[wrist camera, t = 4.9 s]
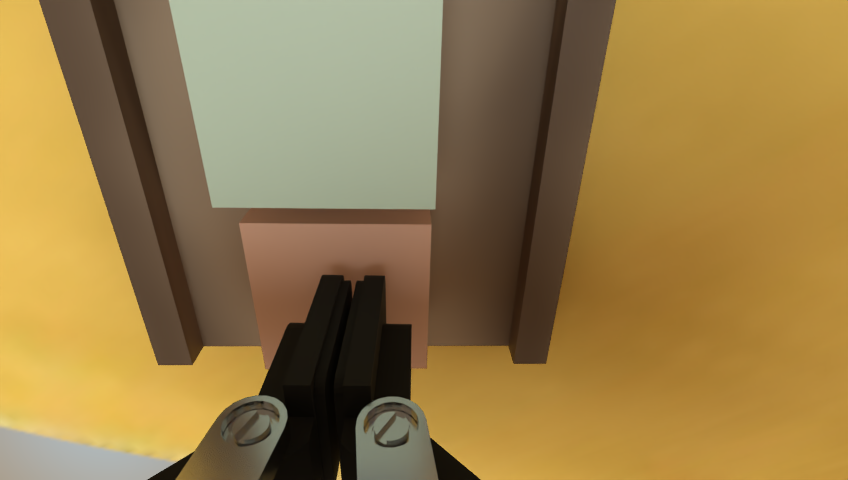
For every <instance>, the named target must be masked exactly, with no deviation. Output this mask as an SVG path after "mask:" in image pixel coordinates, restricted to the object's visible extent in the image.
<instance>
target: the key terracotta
mask: <svg viewBox="0 0 848 480" xmlns="http://www.w3.org/2000/svg"><path fill="white" fill-rule="evenodd" d="M431 225H432V224H431V215H430V209H324V208H250V210H249V211H248V212H247V213H246V215H245V216H244V217H243V219H242V220H241V221H240V222H239V227H240V232H241V237H242V243H243V248H244V254H245V259H246V265H247V270H248V276H249V281H250V286H251V292H252V297H253V303H254V308H255V314H256V319H257V325H258V330H259V335H260V341H261V346H262V352H263V357H264V363H265V368H266V369H269V368H270V366H271V364H272V361H273V359H274V356H275V354H276V351H277V349H278V347H279V344H280V342H281V339H282V337H283V334H284V332H285V330H286V327H287V325H288V324H289V323H305V321H306V318H307V315H308V312H309V310H310V307H311V304H312V301H313V298H314V296H315V293H316V290H317V287H318V285H319V282H320V279H321V276H322V275H343V276H344V280H351V283H352V298H353V294H354V290H355V285H356V281H364V276H365V275H379V276H385V281H386V324H412V340H411V368H427V345H428V315H429V285H430V255H431Z"/></svg>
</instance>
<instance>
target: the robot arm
mask: <svg viewBox="0 0 848 480" xmlns="http://www.w3.org/2000/svg"><path fill="white" fill-rule="evenodd" d="M411 340H412V324H386V281H385V276H379V275H365V276H364V281H356V285H355V290H354V294H353V298H352V283H351V280H344V276H343V275H322V276H321V279H320V282H319V285H318V287H317V290H316V293H315V296H314V298H313V301H312V304H311V307H310V310H309V312H308V315H307V318H306V321H305V323H289V324H288V325H287V327H286V330H285V332H284V334H283V337H282V339H281V342H280V344H279V347H278V349H277V351H276V354H275V356H274V359H273V361H272V364H271V366H270V368H269V371H268V373H267V376H266V378H265V381H264V383H263V385H262V388H261V390H260V393H259V395H258V396H252V397H247V398H244V399H242V400H239V401H237V402H235V403H233V404H232V405H230V406H229V407H228V408H226V409H225V410H224V411H223V412H222V413H221V414H220V415H219V417H218V418H217V419H216V421H215V422H214V423H213V425H212V426H211V428H210V429H209V431H208V432H207V434H206V435H205V437H204V438H203V440H202V441H201V443H200V444H199V446H198V447H197V449H196V450H195V451H194V452H193V453H191V454H189V455H188V456H186V457H184V458H183V459H181V460H179V461H178V462H176V463H174V464H173V465H171V466H170V467H168V468H166V469H164V470H163V471H161V472H159V473H158V474H156V475H154V476H153V477H151V478H150V479H148V480H336V478H337V473H338V467H339V462H340V466H341V477H342V480H480V479H479V478H478V477H477V476H476V475H474V474H473V473H472V472H471V471H470V470H468V469H467V468H466V467H465V466H464V465H462V464H461V463H460V462H459V461H458V460H456V459H455V458H454V457H453V456H452V455H450V454H449V453H448V452H447V451H446V450H444V449H443V448H442V447H441V446H440V445H438V444H437V443H436V442H435V441H434V440H432V439H431V438H430V435H429V430H428V426H427V421H426V418H425V415H424V413H423V411H422V410H421V409H420V407H419V406H418V405H417V404H415V403H414V402H412V401H410V396H411Z"/></svg>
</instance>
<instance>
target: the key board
mask: <svg viewBox="0 0 848 480" xmlns="http://www.w3.org/2000/svg"><path fill="white" fill-rule="evenodd" d="M39 2H40V5H41V8H42V11H43V14H44V17H45V20H46V23H47V26H48V29H49V33H50V36H51V39H52V42H53V45H54V48H55V51H56V54H57V57H58V60H59V63H60V66H61V69H62V72H63V75H64V78H65V81H66V85H67V88H68V91H69V94H70V97H71V100H72V103H73V106H74V109H75V112H76V115H77V118H78V121H79V124H80V127H81V130H82V133H83V137H84V140H85V143H86V146H87V149H88V152H89V155H90V158H91V161H92V164H93V167H94V170H95V173H96V176H97V179H98V182H99V185H100V189H101V192H102V195H103V198H104V201H105V204H106V207H107V210H108V213H109V216H110V219H111V222H112V225H113V228H114V231H115V234H116V237H117V241H118V244H119V247H120V250H121V253H122V256H123V259H124V262H125V265H126V268H127V271H128V274H129V277H130V280H131V283H132V286H133V289H134V293H135V296H136V299H137V302H138V305H139V308H140V311H141V314H142V317H143V320H144V323H145V326H146V329H147V332H148V335H149V338H150V341H151V345H152V348H153V351H154V354H155V357H156V360H157V363H158V365H193V363H194V361H195V360H196V358H197V356H198V355H199V353H200V351H201V350H202V348H203V346H261V341H260V335H259V330H258V325H257V319H256V314H255V308H254V303H253V297H252V292H251V286H250V281H249V276H248V270H247V265H246V259H245V254H244V248H243V243H242V237H241V232H240V227H239V222H240V221H241V220H242V219H243V217H244V216H245V215H246V213H247V212H248V211H249V210H250V208H212V204H211V199H210V194H209V190H208V185H207V180H206V175H205V171H204V166H203V161H202V156H201V151H200V147H199V142H198V137H197V132H196V128H195V123H194V118H193V113H192V109H191V104H190V99H189V94H188V90H187V85H186V80H185V75H184V71H183V66H182V61H181V56H180V51H179V47H178V42H177V37H176V32H175V28H174V23H173V18H172V13H171V9H170V4H169V0H39ZM615 3H616V0H443V17H442V44H441V71H440V98H439V125H438V152H437V179H436V206H435V209H430V215H431V224H432V225H431V255H430V285H429V315H428V345H427V346H509V349H510V353H511V356H512V360H513V363H514V364H546V361H547V356H548V350H549V345H550V340H551V335H552V330H553V324H554V319H555V314H556V309H557V304H558V299H559V293H560V288H561V283H562V278H563V273H564V267H565V262H566V257H567V252H568V247H569V241H570V236H571V231H572V226H573V221H574V216H575V210H576V205H577V200H578V195H579V190H580V184H581V179H582V174H583V169H584V164H585V158H586V153H587V148H588V143H589V138H590V133H591V127H592V122H593V117H594V112H595V107H596V101H597V96H598V91H599V86H600V81H601V75H602V70H603V65H604V60H605V55H606V49H607V44H608V39H609V34H610V29H611V24H612V18H613V13H614V8H615Z"/></svg>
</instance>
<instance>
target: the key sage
mask: <svg viewBox="0 0 848 480" xmlns="http://www.w3.org/2000/svg"><path fill="white" fill-rule="evenodd" d="M169 4H170V9H171V13H172V18H173V23H174V28H175V32H176V37H177V42H178V47H179V51H180V56H181V61H182V66H183V71H184V75H185V80H186V85H187V90H188V94H189V99H190V104H191V109H192V113H193V118H194V123H195V128H196V132H197V137H198V142H199V147H200V151H201V156H202V161H203V166H204V171H205V175H206V180H207V185H208V190H209V194H210V199H211V204H212V208H324V209H435V206H436V179H437V152H438V125H439V98H440V71H441V44H442V17H443V0H169Z"/></svg>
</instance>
